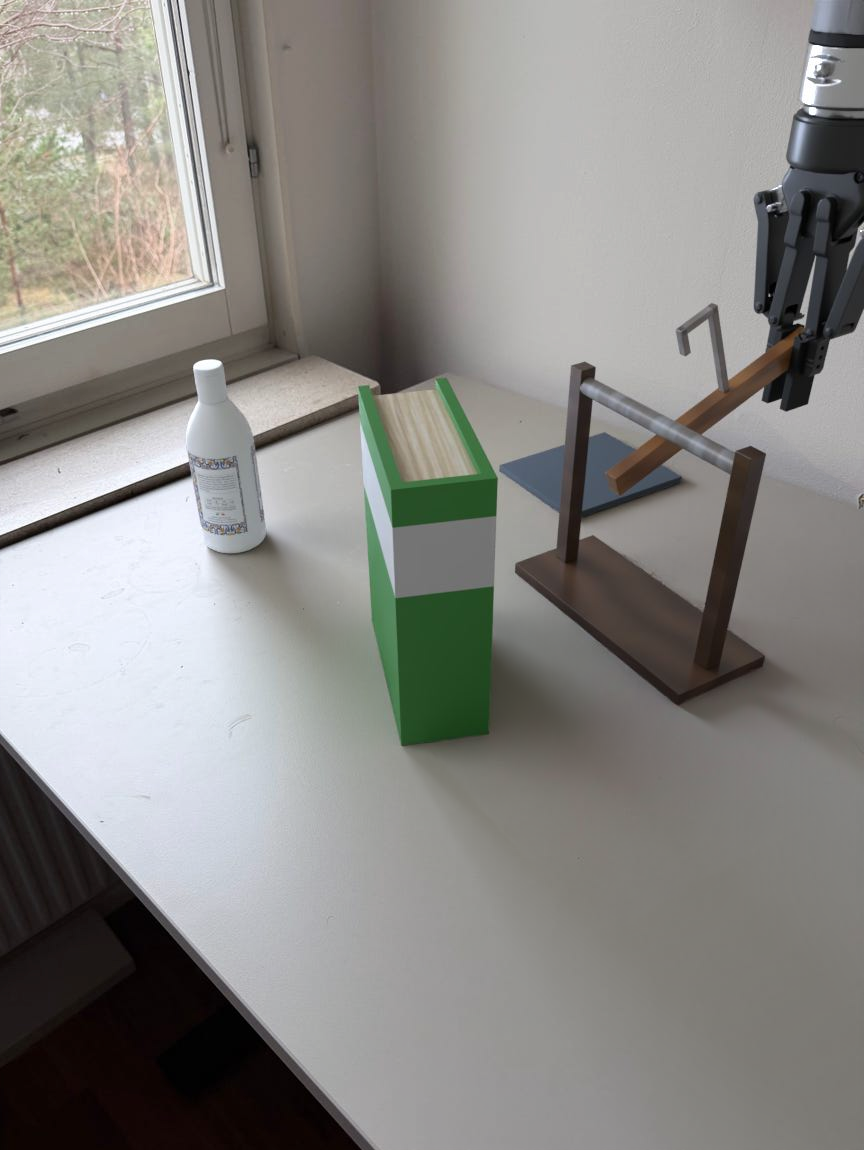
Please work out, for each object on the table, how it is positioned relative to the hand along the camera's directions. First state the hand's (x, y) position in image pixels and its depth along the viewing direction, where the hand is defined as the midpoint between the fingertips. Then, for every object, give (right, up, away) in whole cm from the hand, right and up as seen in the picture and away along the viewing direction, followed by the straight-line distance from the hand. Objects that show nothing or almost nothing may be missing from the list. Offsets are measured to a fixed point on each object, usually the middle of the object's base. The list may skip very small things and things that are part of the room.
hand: (784, 401), depth 87 cm
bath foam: (-52, -10, +20) cm, 57 cm away
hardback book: (-32, -25, 0) cm, 41 cm away
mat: (-12, -2, +28) cm, 30 cm away
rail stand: (-12, -19, +6) cm, 24 cm away
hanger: (-8, -2, -4) cm, 9 cm away
